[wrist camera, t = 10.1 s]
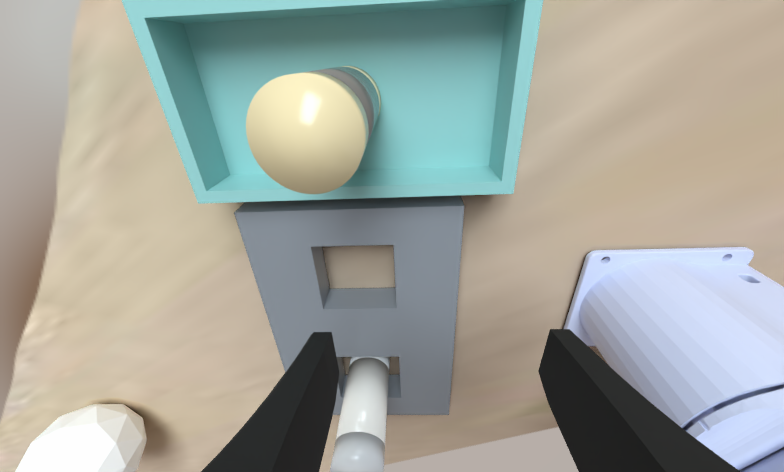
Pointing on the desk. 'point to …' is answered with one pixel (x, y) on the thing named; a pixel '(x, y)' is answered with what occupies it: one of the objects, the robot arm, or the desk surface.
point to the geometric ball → (89, 442)
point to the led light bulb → (313, 127)
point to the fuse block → (364, 305)
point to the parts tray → (348, 48)
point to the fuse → (363, 417)
